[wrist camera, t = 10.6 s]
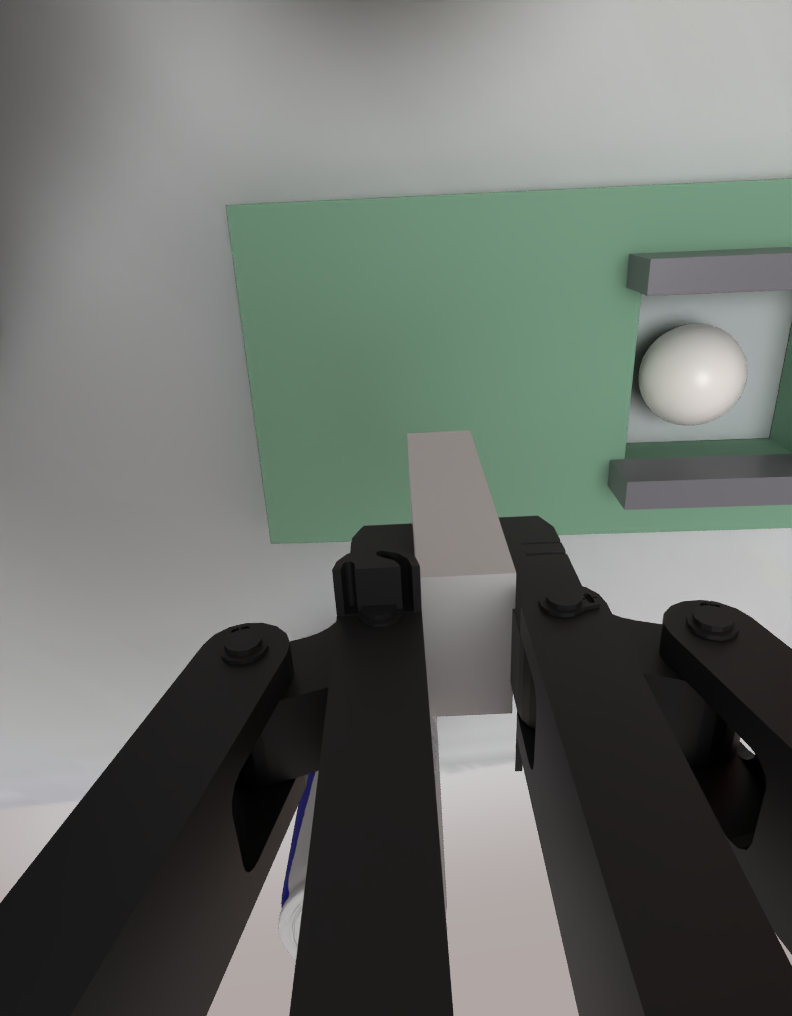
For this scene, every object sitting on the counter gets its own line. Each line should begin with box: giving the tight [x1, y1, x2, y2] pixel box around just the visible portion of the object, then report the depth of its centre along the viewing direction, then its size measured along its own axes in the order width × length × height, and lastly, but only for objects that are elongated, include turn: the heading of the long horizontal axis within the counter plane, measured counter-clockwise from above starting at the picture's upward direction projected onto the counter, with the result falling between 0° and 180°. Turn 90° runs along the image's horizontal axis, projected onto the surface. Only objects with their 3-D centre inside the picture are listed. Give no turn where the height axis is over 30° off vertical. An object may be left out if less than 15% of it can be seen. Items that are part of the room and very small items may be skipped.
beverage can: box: [279, 716, 447, 960], centre depth 29 cm, size 6×6×15 cm
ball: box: [639, 324, 747, 425], centre depth 27 cm, size 4×4×4 cm
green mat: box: [226, 179, 792, 544], centre depth 28 cm, size 24×14×2 cm, turn 92°
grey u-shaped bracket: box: [608, 247, 792, 510], centre depth 26 cm, size 9×9×2 cm
